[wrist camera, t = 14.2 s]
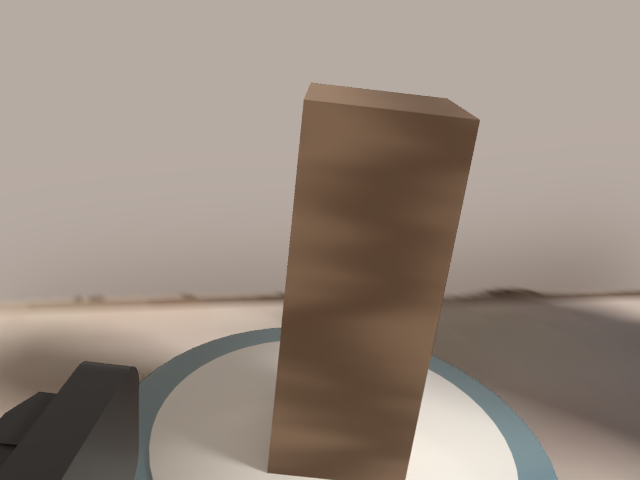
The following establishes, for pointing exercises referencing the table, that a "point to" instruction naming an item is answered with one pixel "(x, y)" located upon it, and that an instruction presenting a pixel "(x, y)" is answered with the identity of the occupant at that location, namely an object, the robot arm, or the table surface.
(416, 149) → the walnut block
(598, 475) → the table surface
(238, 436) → the teal dish
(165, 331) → the table surface
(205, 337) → the table surface
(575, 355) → the table surface
